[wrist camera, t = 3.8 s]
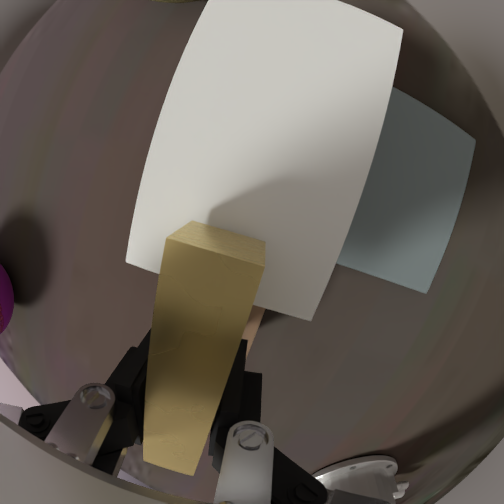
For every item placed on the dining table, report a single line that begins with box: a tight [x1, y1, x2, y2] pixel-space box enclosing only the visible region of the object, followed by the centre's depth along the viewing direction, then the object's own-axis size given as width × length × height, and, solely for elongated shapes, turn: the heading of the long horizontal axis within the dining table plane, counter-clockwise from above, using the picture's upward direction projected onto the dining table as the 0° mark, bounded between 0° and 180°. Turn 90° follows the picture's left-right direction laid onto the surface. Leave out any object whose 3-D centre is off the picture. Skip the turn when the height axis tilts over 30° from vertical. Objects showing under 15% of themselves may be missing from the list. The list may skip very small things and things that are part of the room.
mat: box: [336, 87, 476, 294], centre depth 15 cm, size 8×12×1 cm
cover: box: [126, 0, 403, 321], centre depth 8 cm, size 6×10×3 cm, turn 163°
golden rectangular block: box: [143, 221, 266, 476], centre depth 10 cm, size 2×9×6 cm, turn 164°
